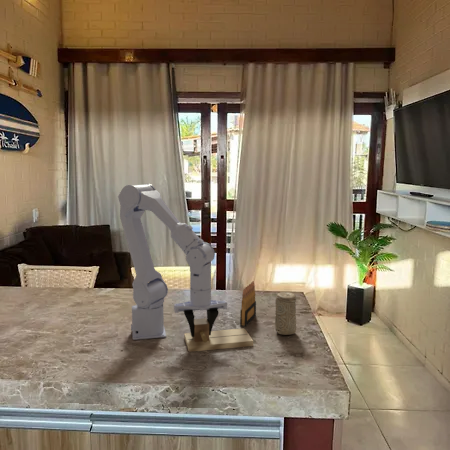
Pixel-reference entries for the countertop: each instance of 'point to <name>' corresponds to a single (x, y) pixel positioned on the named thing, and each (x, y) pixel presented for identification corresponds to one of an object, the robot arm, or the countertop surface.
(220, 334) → the board
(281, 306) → the carving
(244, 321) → the ammunition clip
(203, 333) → the mallet
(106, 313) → the countertop surface
